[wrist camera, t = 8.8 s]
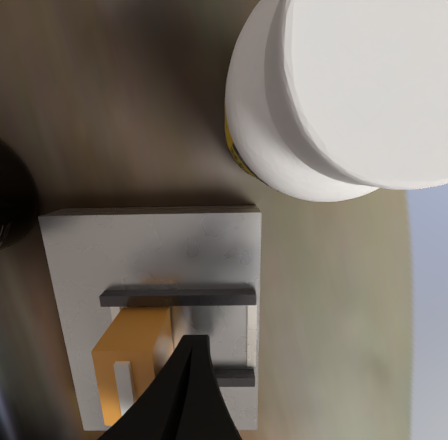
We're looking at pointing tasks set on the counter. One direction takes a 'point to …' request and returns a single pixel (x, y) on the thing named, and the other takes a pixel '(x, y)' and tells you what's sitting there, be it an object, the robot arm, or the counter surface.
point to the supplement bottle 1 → (15, 198)
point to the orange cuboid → (130, 357)
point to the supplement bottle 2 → (341, 96)
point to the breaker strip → (160, 287)
